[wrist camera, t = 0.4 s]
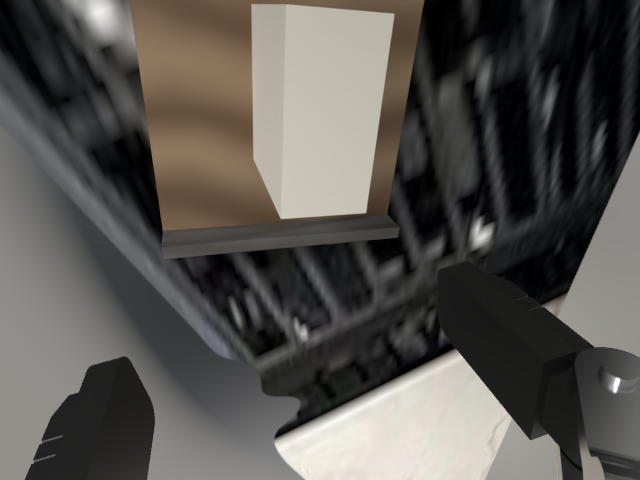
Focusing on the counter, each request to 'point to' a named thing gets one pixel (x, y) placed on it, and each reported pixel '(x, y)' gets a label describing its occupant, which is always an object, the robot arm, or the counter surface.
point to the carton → (317, 105)
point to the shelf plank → (244, 127)
